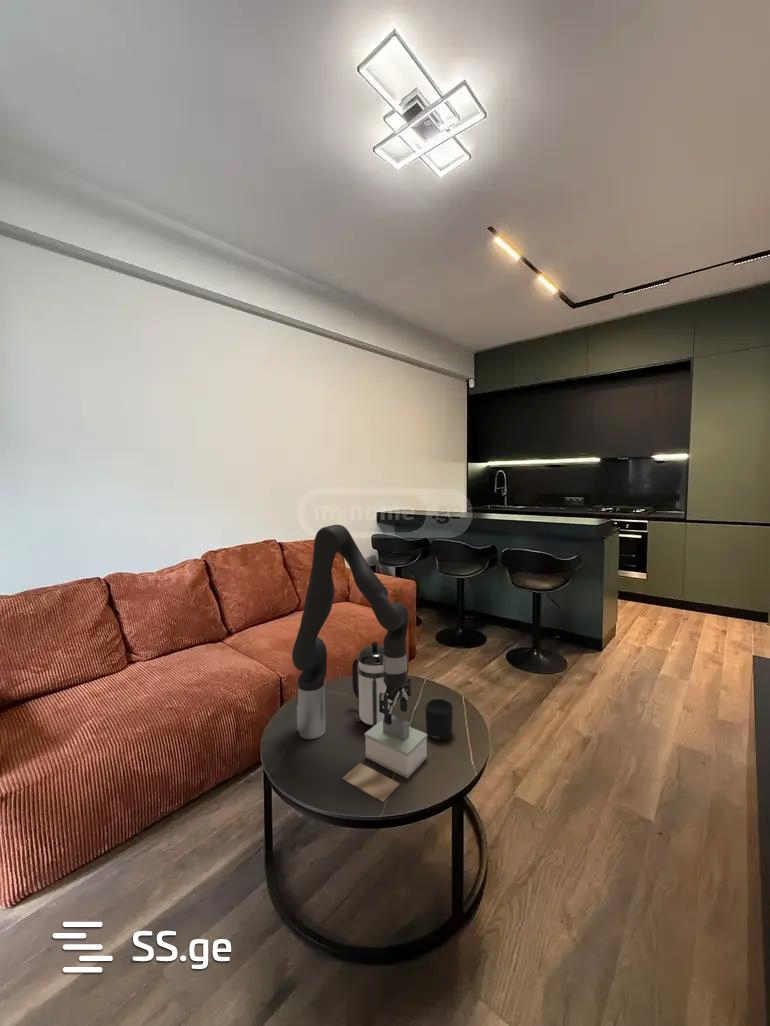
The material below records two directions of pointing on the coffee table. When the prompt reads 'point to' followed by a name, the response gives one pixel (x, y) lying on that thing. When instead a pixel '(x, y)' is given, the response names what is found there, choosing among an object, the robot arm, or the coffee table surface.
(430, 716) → the pen holder
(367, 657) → the coffee press
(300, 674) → the robot arm
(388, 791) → the cork pad
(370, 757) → the storage box
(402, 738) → the lid
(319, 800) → the coffee table surface
